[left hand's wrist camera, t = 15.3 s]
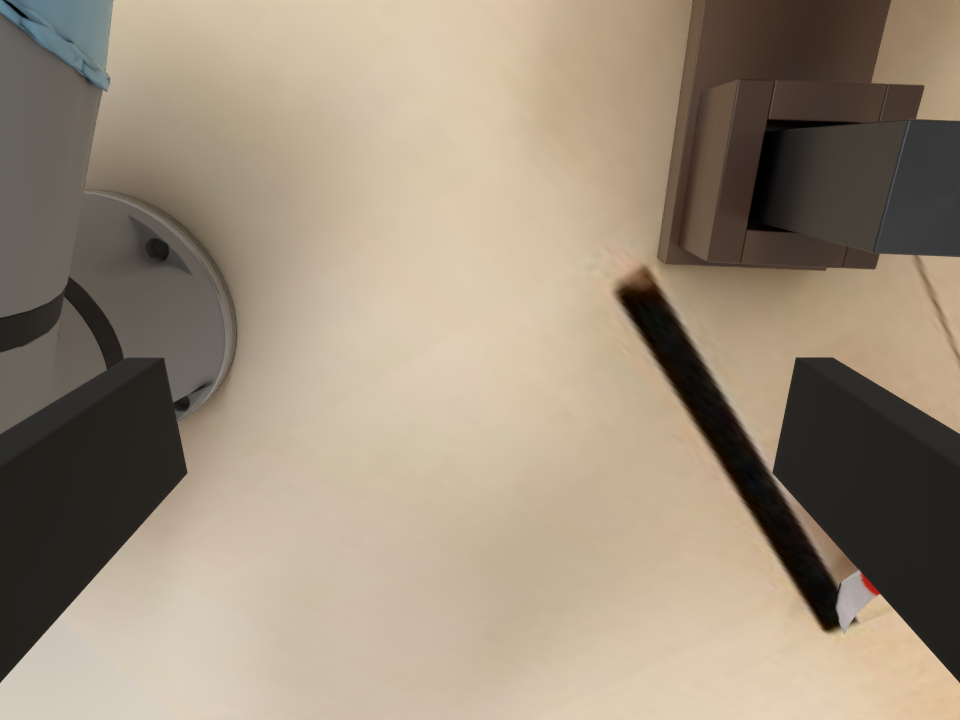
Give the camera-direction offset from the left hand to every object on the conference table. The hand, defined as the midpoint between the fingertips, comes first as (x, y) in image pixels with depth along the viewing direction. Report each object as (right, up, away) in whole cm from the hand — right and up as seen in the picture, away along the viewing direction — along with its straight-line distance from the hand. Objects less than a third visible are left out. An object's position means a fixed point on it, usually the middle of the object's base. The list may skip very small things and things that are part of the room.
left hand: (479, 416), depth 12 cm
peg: (+15, +11, +19) cm, 27 cm away
